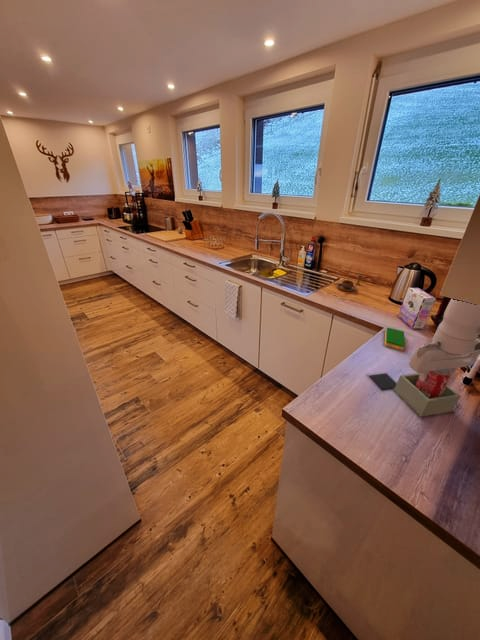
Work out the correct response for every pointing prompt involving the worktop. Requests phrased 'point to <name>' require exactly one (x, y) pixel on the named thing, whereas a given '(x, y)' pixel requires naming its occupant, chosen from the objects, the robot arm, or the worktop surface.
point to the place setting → (348, 285)
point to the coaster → (383, 381)
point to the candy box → (416, 308)
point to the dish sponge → (394, 338)
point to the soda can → (434, 383)
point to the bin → (420, 401)
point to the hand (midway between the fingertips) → (434, 378)
